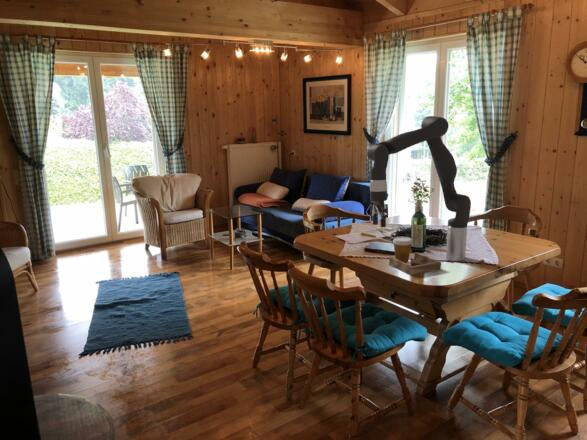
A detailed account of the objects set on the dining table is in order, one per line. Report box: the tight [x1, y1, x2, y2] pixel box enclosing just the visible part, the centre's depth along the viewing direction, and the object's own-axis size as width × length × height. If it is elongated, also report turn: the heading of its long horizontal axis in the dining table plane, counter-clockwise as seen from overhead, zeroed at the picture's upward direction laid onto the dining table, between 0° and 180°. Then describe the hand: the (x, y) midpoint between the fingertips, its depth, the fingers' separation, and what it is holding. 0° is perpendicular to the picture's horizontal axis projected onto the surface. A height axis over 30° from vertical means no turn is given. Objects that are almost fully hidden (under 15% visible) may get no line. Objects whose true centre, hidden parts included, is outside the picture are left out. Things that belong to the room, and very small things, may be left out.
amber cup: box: [392, 236, 413, 264], centre depth 233 cm, size 10×10×12 cm
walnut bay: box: [388, 251, 442, 277], centre depth 225 cm, size 18×17×4 cm
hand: (379, 225), depth 210 cm, fingers open, 8 cm apart
